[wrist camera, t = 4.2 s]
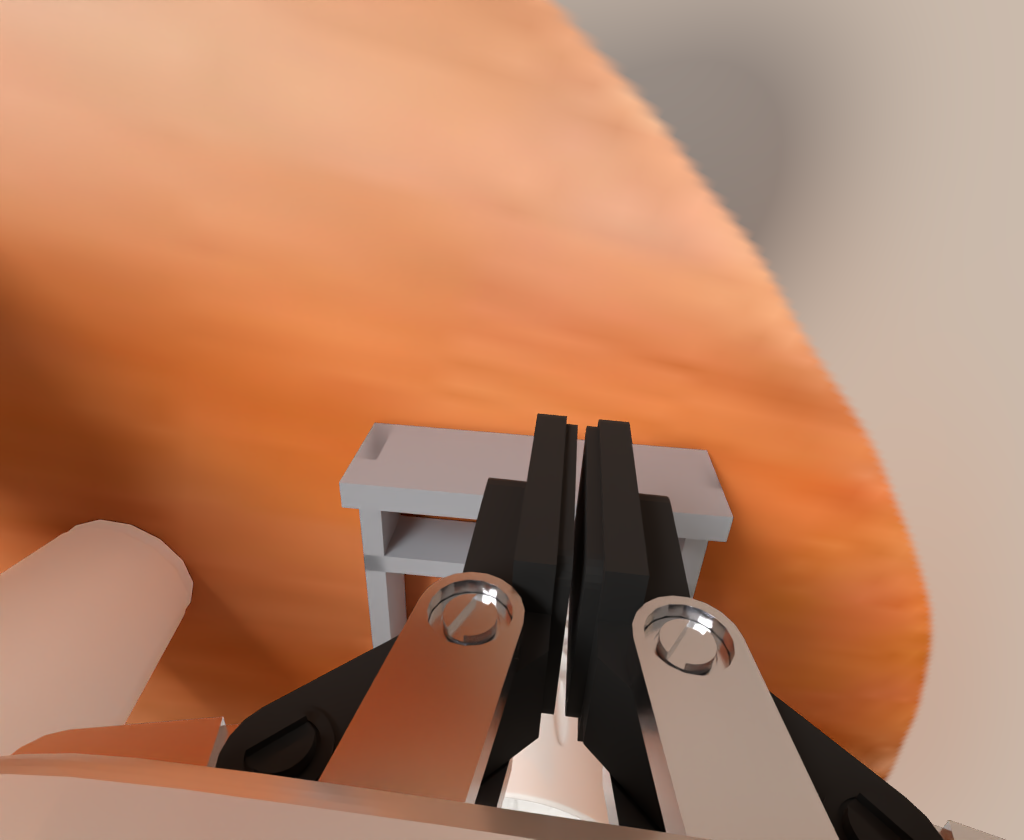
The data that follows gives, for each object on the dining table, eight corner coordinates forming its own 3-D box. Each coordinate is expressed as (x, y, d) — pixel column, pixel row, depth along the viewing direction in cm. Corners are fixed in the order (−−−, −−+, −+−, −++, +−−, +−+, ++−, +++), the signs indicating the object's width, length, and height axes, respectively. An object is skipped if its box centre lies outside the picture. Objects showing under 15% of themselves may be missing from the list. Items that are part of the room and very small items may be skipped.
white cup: (642, 596, 26) (680, 849, 17) (559, 694, 30) (556, 944, 21) (481, 527, 25) (434, 760, 16) (415, 638, 28) (348, 878, 20)
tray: (374, 422, 22) (338, 482, 19) (707, 450, 22) (733, 517, 18) (395, 689, 30) (372, 767, 27) (641, 715, 29) (651, 798, 26)
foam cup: (-10, 493, 26) (-453, 796, 15) (182, 488, 25) (-138, 811, 14) (83, 640, 31) (-202, 960, 19) (249, 641, 30) (50, 981, 18)
